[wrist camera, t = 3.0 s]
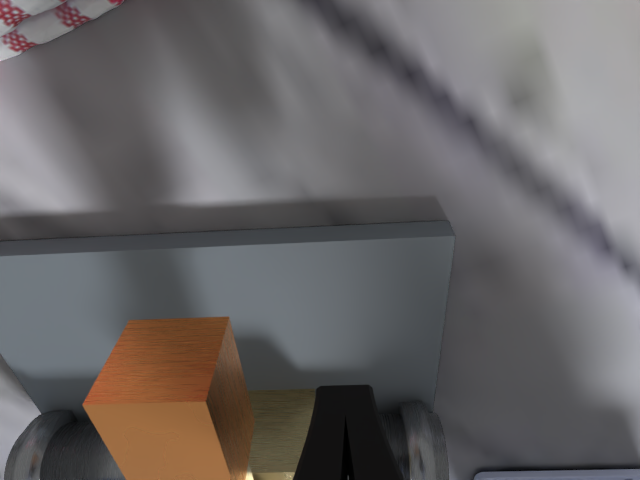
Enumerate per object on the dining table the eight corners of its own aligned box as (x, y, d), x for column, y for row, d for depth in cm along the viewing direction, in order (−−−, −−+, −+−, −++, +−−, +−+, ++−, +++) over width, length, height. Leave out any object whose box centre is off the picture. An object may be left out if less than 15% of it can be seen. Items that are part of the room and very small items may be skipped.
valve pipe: (433, 375, 19) (457, 471, 15) (426, 439, 21) (445, 534, 18) (36, 387, 20) (-28, 480, 16) (75, 447, 22) (28, 539, 19)
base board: (448, 220, 15) (455, 235, 14) (415, 504, 26) (418, 522, 25) (-44, 243, 16) (-65, 259, 15) (125, 509, 27) (118, 526, 26)
